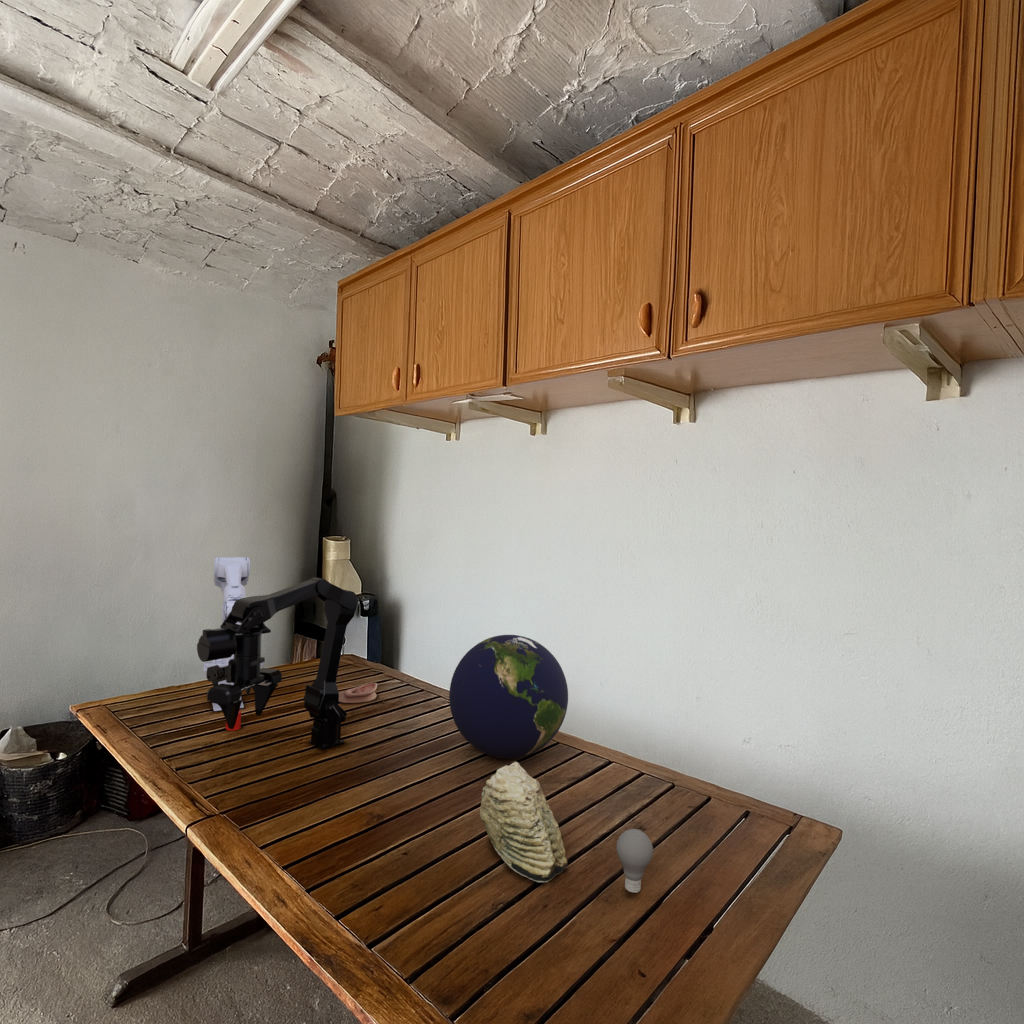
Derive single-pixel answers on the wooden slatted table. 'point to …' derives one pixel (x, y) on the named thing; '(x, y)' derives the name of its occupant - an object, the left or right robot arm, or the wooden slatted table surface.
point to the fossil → (522, 824)
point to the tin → (238, 723)
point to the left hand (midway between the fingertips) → (232, 695)
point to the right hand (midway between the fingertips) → (245, 721)
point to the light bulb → (634, 857)
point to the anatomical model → (359, 694)
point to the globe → (508, 696)
